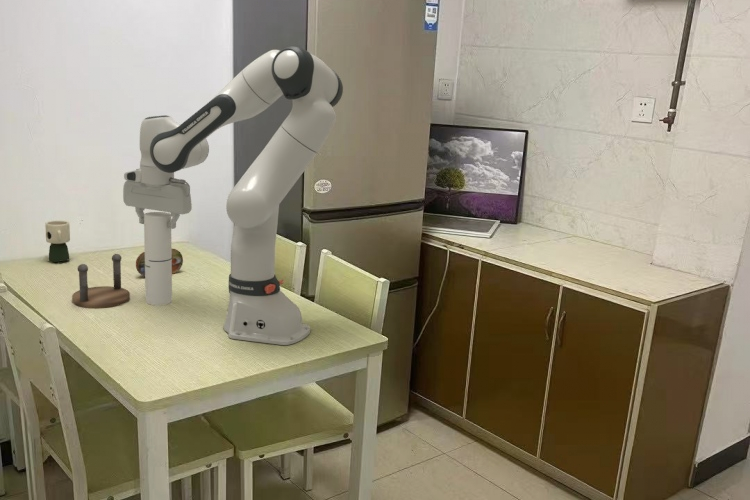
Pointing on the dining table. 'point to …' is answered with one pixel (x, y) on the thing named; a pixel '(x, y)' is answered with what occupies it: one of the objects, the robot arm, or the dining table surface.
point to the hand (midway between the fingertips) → (157, 225)
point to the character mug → (58, 240)
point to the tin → (176, 262)
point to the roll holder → (101, 289)
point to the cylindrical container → (158, 258)
